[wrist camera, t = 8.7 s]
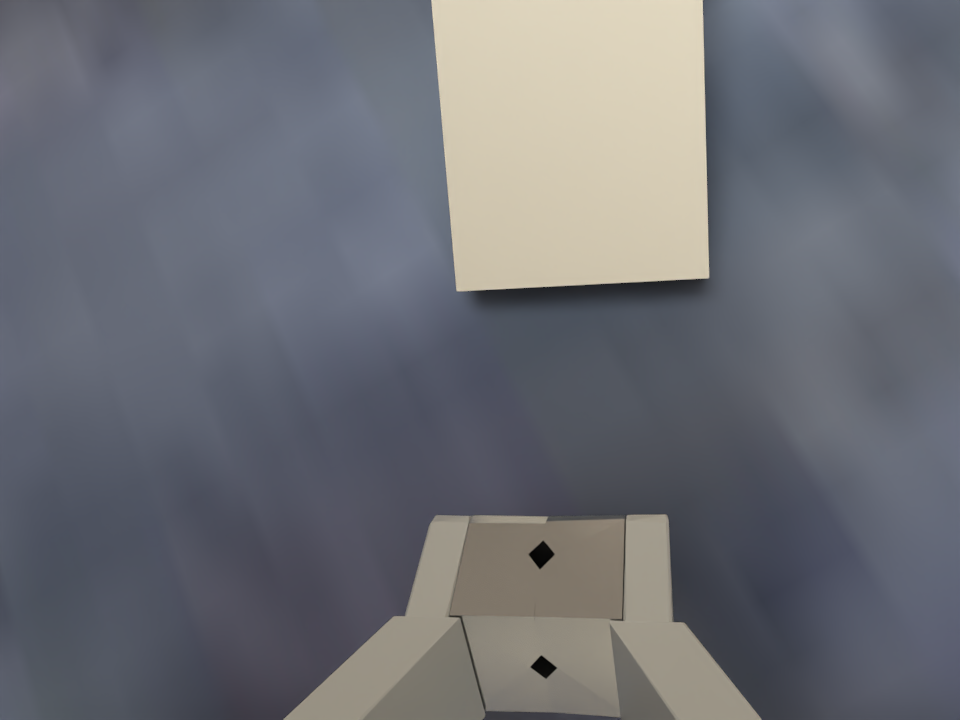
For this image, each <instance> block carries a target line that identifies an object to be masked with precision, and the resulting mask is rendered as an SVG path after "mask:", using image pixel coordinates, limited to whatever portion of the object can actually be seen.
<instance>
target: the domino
mask: <svg viewBox="0 0 960 720" xmlns="http://www.w3.org/2000/svg"><path fill="white" fill-rule="evenodd" d="M431 1H432V13H433V24H434V36H435V47H436V59H437V70H438V82H439V94H440V105H441V117H442V128H443V140H444V151H445V163H446V174H447V186H448V198H449V209H450V221H451V232H452V244H453V255H454V267H455V278H456V290H457V291H475V290H494V289H513V288H532V287H552V286H571V285H590V284H609V283H628V282H647V281H666V280H685V279H705V278H709V249H708V207H707V164H706V121H705V79H704V36H703V0H431Z"/></svg>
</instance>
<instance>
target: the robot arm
mask: <svg viewBox="0 0 960 720" xmlns="http://www.w3.org/2000/svg"><path fill="white" fill-rule="evenodd" d="M485 711H506V712H554V713H568V714H582V715H595V716H609V717H621V720H762V719H761V718H760V716H759V715H758V714H757V713H756V711H755V710H754V709H753V708H752V706H751V705H750V704H749V703H748V701H747V700H746V699H745V698H744V696H743V695H742V694H741V693H740V691H739V690H738V689H737V688H736V686H735V685H734V684H733V683H732V681H731V680H730V679H729V678H728V676H727V675H726V674H725V673H724V671H723V670H722V669H721V668H720V666H719V665H718V664H717V663H716V661H715V660H714V659H713V658H712V656H711V655H710V654H709V653H708V651H707V650H706V649H705V648H704V646H703V645H702V644H701V643H700V641H699V640H698V639H697V638H696V636H695V635H694V634H693V633H692V631H691V630H690V629H689V628H688V626H687V625H686V624H685V623H681V622H674V619H673V599H672V579H671V558H670V538H669V520H668V516H667V515H666V514H663V515H627V518H626V515H585V516H549V517H537V516H490V515H473V516H456V515H436V516H435V517H434V519H433V520H432V522H431V523H430V525H429V528H428V532H427V536H426V539H425V543H424V547H423V550H422V554H421V558H420V561H419V565H418V569H417V572H416V576H415V580H414V584H413V587H412V591H411V595H410V598H409V602H408V606H407V609H406V613H405V616H393V617H392V618H391V619H390V620H389V621H388V622H387V623H386V624H385V625H384V626H383V627H381V628H380V629H379V630H378V631H377V632H376V633H375V634H374V635H373V636H372V637H371V638H370V639H369V640H368V641H367V642H365V643H364V644H363V645H362V646H361V647H360V648H359V649H358V650H357V651H356V652H355V653H354V654H353V655H352V656H351V657H349V658H348V659H347V660H346V661H345V662H344V663H343V664H342V665H341V666H340V667H339V668H338V669H337V670H336V671H334V672H333V673H332V674H331V675H330V676H329V677H328V678H327V679H326V680H325V681H324V682H323V683H322V684H321V685H320V686H318V687H317V688H316V689H315V690H314V691H313V692H312V693H311V694H310V695H309V696H308V697H307V698H306V699H305V700H304V701H302V702H301V703H300V704H299V705H298V706H297V707H296V708H295V709H294V710H293V711H292V712H291V713H290V714H289V715H288V716H286V717H285V718H284V719H283V720H483V718H484V717H485V716H486V715H485Z"/></svg>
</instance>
